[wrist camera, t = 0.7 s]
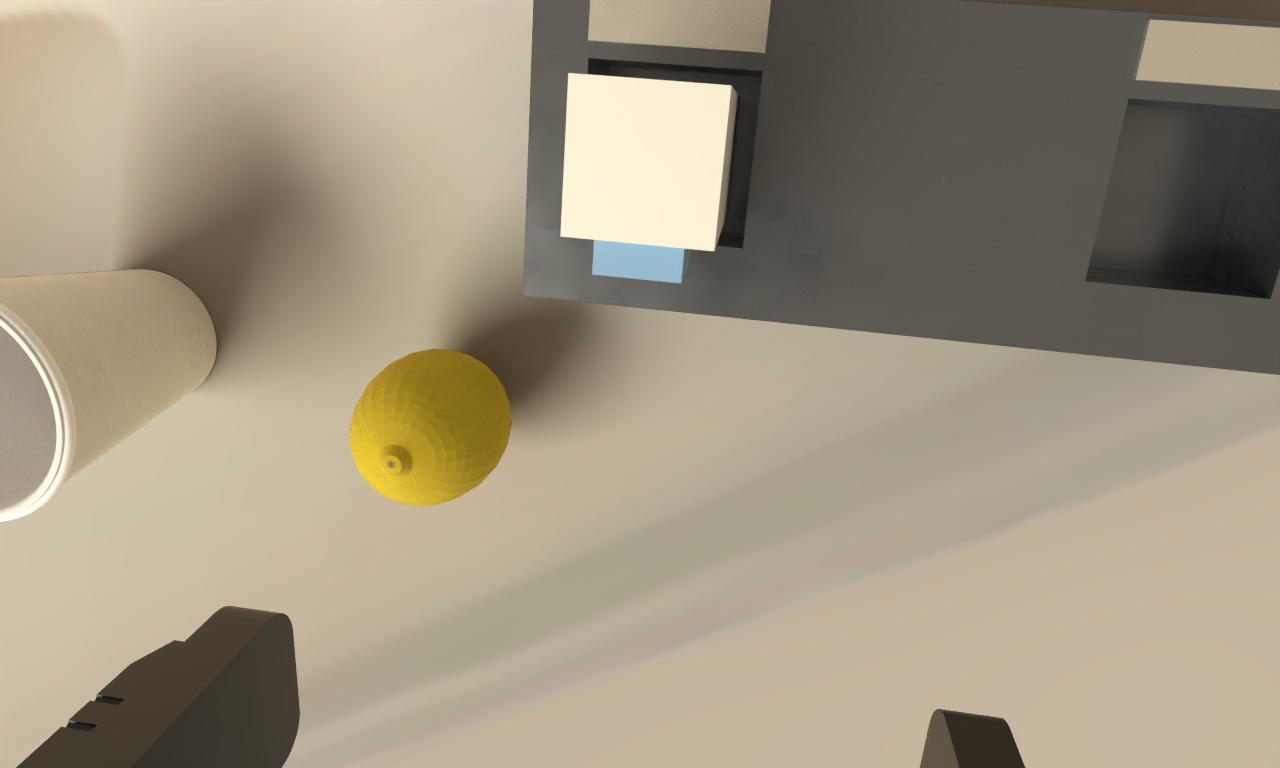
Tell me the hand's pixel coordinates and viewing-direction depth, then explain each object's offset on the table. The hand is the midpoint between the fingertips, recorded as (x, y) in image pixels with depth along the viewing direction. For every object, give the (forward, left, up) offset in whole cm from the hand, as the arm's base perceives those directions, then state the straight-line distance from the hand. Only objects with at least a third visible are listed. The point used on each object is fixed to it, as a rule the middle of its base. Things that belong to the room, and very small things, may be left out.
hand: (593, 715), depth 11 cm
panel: (-6, +6, -24) cm, 26 cm away
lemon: (+5, -10, -24) cm, 26 cm away
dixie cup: (+4, -24, -24) cm, 34 cm away
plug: (-6, -2, -23) cm, 24 cm away
